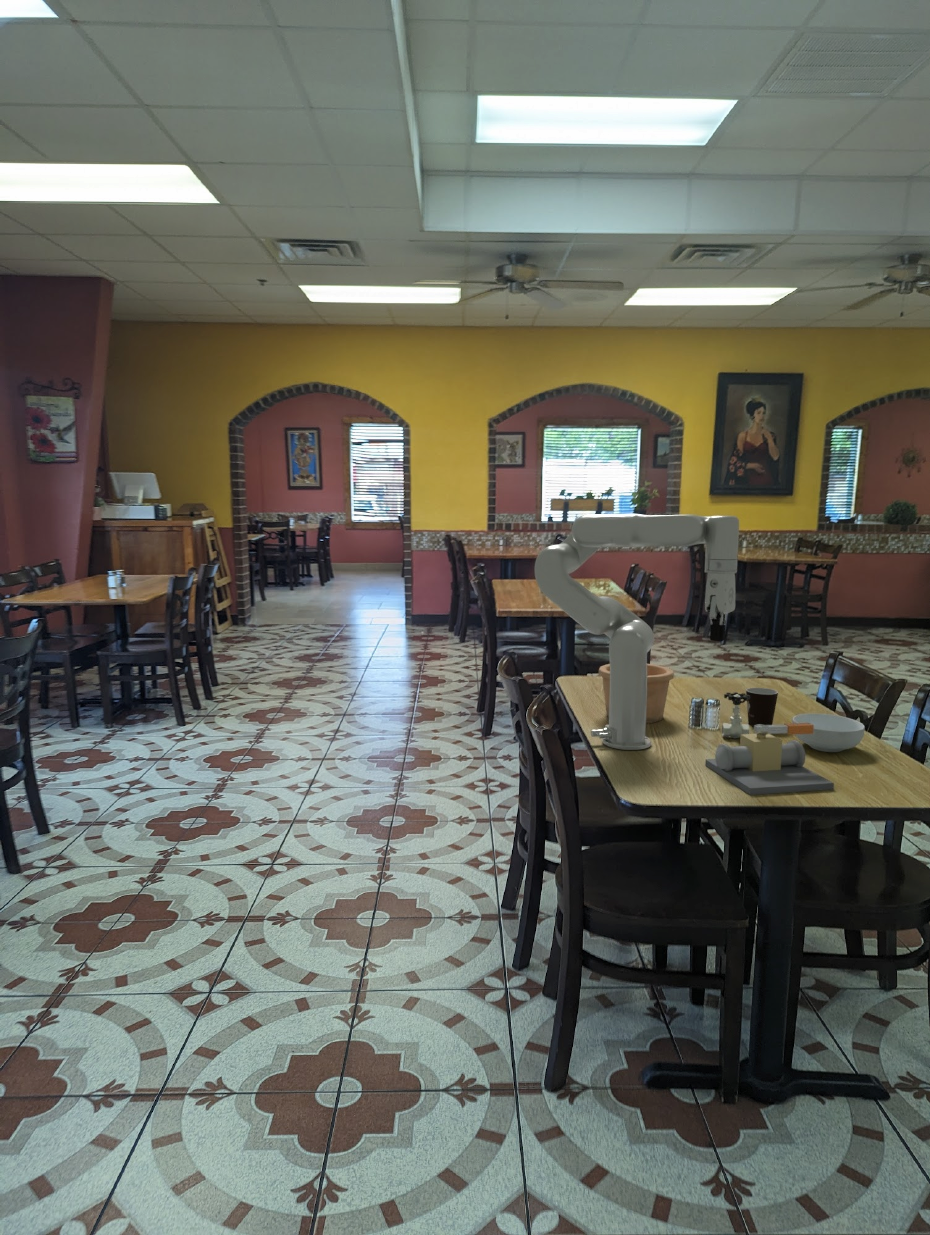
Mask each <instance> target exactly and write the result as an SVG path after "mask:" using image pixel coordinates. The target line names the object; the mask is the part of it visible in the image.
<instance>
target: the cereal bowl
mask: <svg viewBox="0 0 930 1235" xmlns="http://www.w3.org/2000/svg"><path fill="white" fill-rule="evenodd" d="M791 722H792V723H810V724H812V725H814V728H813V734H794V736H796V738H797V739H798V741H799V742H802V743H805V744H806V745H808V746H809V747H810V748H811V749H813V750H817V751H820V752H826V753H839V752H842V751H844V750H849V749H852V748H855V747H857V746H858V745H859V744H860V743H861V742H862V740H863V738H864V736H865V730H866V729H865V728H866V727H865V725H864V723H862V722H860V721H858V720H856V719H853V718H850V717H846V716H842V715H837V714H836V715H835V714H829V713H816V712H815V713H814V712H813V713H811V712H810V713H809V712H807V713H800V714H797V715H794V716H793V717H792V721H791Z"/></svg>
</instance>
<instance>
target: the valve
mask: <svg viewBox="0 0 930 1235" xmlns="http://www.w3.org/2000/svg"><path fill="white" fill-rule="evenodd" d="M723 698H724V699H727V700H728V701H732V704H733V705H734V707H732V713H733V714H732V716H730V717H729V721H730V723H729V722H728V723H726V722H723V723H722V724H721V736H722V737H724V738H729V737H730V738H731V739H740V737H741V734H750V725H749V724H748V723H747V724H745V723H742V721H743V718H742V717H741V715H740V714H741V708H740V707H739V706H740V705H741V704H744V703H745V702H747V701H748V699H750V695H746V692H745V693H744V692H743V693H738V692H737V691H734V692H733V693H731V692H726V693H724V694H723Z"/></svg>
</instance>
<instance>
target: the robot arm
mask: <svg viewBox="0 0 930 1235" xmlns="http://www.w3.org/2000/svg"><path fill="white" fill-rule="evenodd" d="M572 523H573V524H572V526H571V533H570V534H569V535H568V536H567V537H566V538H565V539H564V540H562V542H560V543H559V544H552V545H549V546H547V547H545V548H542V550H541V551H540V552H538V555H537V557H536V559H535V562H534V577H535V581H536V584H537V586H538V588H539V589H540V591H541V592H542V594H544V596H545V597H547V599H548V600H550V601H551V602H552V603H553V604H554V605H556V606H557V607H558V608H559V609H560V610H562V611H563V612H564V613H565V614H567V616H569V617H570V618H571V619H572V620H574V621H575V622H576V623H577V624H579V625H580V626H581V627H582V628H583V629H584V630H586V631H587V632H588V633H590V634H592V635H597V636H599V635H603V634H604V635H606V637H608V638H609V639H610V640H609V644H608V657H609V664H610V701H609V717H608V724H605V726H604V727H602V728H601V729H597V728H596V729H591V730H590V736H591V738H597V737H598V739H602V743H603V745H605V746H606V747H609V748H613V749H618V750H624V751H625V750H626V751H640V750H645V749H647V748H648V749H649V747H651V746H652V740H651V739H650V738H649V737H648V736H647V735H646V726H647V723H646V703H647V664H648V663H647V662H648V659H647V657H648V652H650V650H651V649H652V648H653V646H654V643H655V634H654V631H653V629H652V628H651V627H650V624H649V625H648V624H647V622H645V621H644V620H643V619H642V618H640V616H638V615H636V614H635V613H634V611H631V610H630V609H629V608H627V606H625V605H624V604H622V603H621V602H620V601H618V600H616V599H615V598H613V597H610V596H607V595H605V596H604V595H603V596H597V595H596V594H594V593H593V592H591V590H589V589H588V588H586V587H585V586H584V585H583V584H582V583H580V582H579V581H577V580H575V579H574V578H573V577H572V576H571V575H570V574H572V573H574V572H575V571H576V570H578V569H579V568H580V567H581V566H582V565H583V564H585V563H586V561H587V560H589V559H590V558H591V557H592V556H593V555H594V554H595V553H597V551H599V549H600V548H641V547H642V548H643V547H690V546H694V545H700V544H704V545H705V551H704V552H705V555H704V557H705V558H704V573H707V576H706V585H705V594H704V610H705V612H706V613H707V614H709V619H710V629H709V630H710V632H709V636H710V637H709V640H710V641H714V642H724V641H725V640H726V623H727V615H728V614H729V613H731V612H733V611H735V609H736V575H735V574H737V572H738V557H739V556H738V555H739V539H740V538H739V537H740V534H739V532H740V520H739V518H738V517H737V516H735V515H712V516H704V515H698V514H672V515H671V514H669V515H667V514H665V515H661V514H659V515H656V514H655V515H653V514H652V515H651V514H650V515H649V514H648V515H647V514H640V513H605V514H604V513H602V514H601V513H600V514H597V513H596V514H583V515H580V516H578V517H577V518H576V519H575V520H574V522H572Z"/></svg>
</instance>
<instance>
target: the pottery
mask: <svg viewBox="0 0 930 1235" xmlns="http://www.w3.org/2000/svg"><path fill="white" fill-rule="evenodd" d="M674 674H675V670H673V669H671V668H669V667H667V666H663V665H659V664H652V663H647V703H646V724H654V723H658V722H660V721H662V720H663V719H664V713H665V707H666V701H667V698H668V697H667V696H668V691H669V686H670V680H673V679H674V677H675V675H674ZM598 675H599V676H600V677H601V678H602V685H603V695H604V703H605V711H606V712H605V715H606V716H607V717H608V718H609V701H610V663H608V664H604V665H601V666H599V669H598Z"/></svg>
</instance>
